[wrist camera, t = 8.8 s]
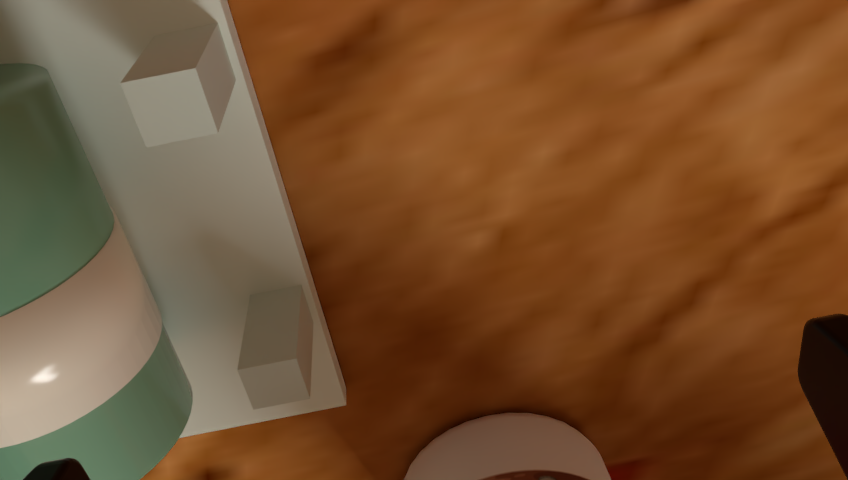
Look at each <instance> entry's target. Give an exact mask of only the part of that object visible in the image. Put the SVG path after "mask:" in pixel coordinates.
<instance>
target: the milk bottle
mask: <svg viewBox="0 0 848 480" xmlns="http://www.w3.org/2000/svg"><path fill="white" fill-rule="evenodd" d="M404 480H611V478H610V475H609V473H608V471H607V468H606V466H605V464H604V462H603V459H602V457H601V455H600V453H599V452H598V450H597V449H596V447H595V446H594V445H593V444H592V443H591V442H590V441H589V440H588V439H587V438H586V437H585V436H584V435H582V434H581V433H580V432H579V431H578V430H576V429H575V428H573V427H571V426H569V425H568V424H566V423H565V422H563V421H560V420H556V419H554V418H551V417H548V416H544V415H537V414H532V413H502V414H496V415H487V416H484V417H481V418H477V419H474V420H470V421H467V422H464V423H462V424H460V425H458V426H456V427H453V428H451V429H449V430H447V431H446V432H444V433H443V434H441V435H440V436H438V437H436V438H435V439H433V440H432V441H431V442H430V443H429V444H428V445H427V446H426V447H425V448H424V449H422V450H421V451H420V452H419V454H418V455H417V457H416V458H415V459H414V461H413V462H412V463H411V465H410V467H409V469H408V472H407V474H406V476H405V478H404Z"/></svg>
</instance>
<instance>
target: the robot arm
mask: <svg viewBox="0 0 848 480" xmlns="http://www.w3.org/2000/svg"><path fill="white" fill-rule="evenodd" d="M798 377H799V381H800V384H801V387H802V389H803V392H804V394H805V396H806V398H807V399H808V401H809V403H810V405H811V407H812V409H813V411H814V413H815V415H816V417H817V419H818V421H819V423H820V425H821V427H822V429H823V431H824V433H825V435H826V437H827V439H828V441H829V443H830V445H831V447H832V449H833V451H834V453H835V455H836V457H837V459H838V461H839V463H840V465H841V467H842V469H843V471H844V473H845V475H846V477H847V479H848V315H845V314H833V315H828V316H823V317H817V318H813V319H810V320H808V322H807V323H806V324H805V326H804V330H803V337H802V343H801V350H800V357H799V364H798ZM22 480H91V479H90V478H89V476H88V475H87V473H86V471H85V470H84V468H83V466H82V465H81V464H80V462H79V461H77V460H76V459H74V458H64V459H58V460H53V461H48V462H44V463H41V464H39V465H37V466H36V467H35V468H34V469H33V470H32V471H31V472H30V473H29V474H28V475H27V476H25V477H24V478H23V479H22Z"/></svg>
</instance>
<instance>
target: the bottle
mask: <svg viewBox="0 0 848 480" xmlns="http://www.w3.org/2000/svg"><path fill="white" fill-rule="evenodd" d="M192 404H193V392H192V388H191V384H190V382H189V380H188V378H187V375H186V373H185V371H184V369H183V367H182V364H181V362H180V360H179V358H178V356H177V353H176V351H175V349H174V347H173V345H172V342H171V340H170V338H169V336H168V334H167V331H166V329H165V327H164V325H163V323H162V318H161V313H160V311H159V309H158V307H157V304H156V302H155V300H154V298H153V296H152V293H151V291H150V289H149V287H148V285H147V282H146V280H145V278H144V276H143V273H142V271H141V269H140V267H139V265H138V262H137V260H136V258H135V256H134V254H133V251H132V249H131V247H130V245H129V243H128V240H127V238H126V236H125V234H124V231H123V229H122V227H121V225H120V223H119V220H118V218H117V216H116V214H115V212H114V210H113V208H112V207H111V206H110V205H109V204H108V202H107V199H106V197H105V195H104V193H103V191H102V188H101V186H100V184H99V182H98V180H97V177H96V175H95V173H94V171H93V169H92V166H91V164H90V162H89V160H88V158H87V155H86V153H85V151H84V149H83V147H82V144H81V142H80V140H79V138H78V136H77V133H76V131H75V129H74V127H73V125H72V122H71V120H70V118H69V116H68V114H67V111H66V109H65V107H64V105H63V103H62V100H61V98H60V96H59V94H58V92H57V89H56V87H55V85H54V83H53V81H52V78H51V76H50V74H49V72H48V70H47V69H45V68H44V67H42V66H39V65H35V64H27V63H7V64H0V480H22V479H23V478H24V477H25V476H27V475H28V474H29V473H30V472H31V471H32V470H33V469H34V468H35V467H36V466H37V465H39V464H41V463H44V462H48V461H53V460H58V459H64V458H74V459H76V460H77V461H79V462H80V464H81V465H82V466H83V468H84V470H85V471H86V473H87V475H88V476H89V478H90V479H91V480H139V479H141V478H142V477H143V476H144V475H146V474H147V473H148V472H149V471H150V470H151V469H153V468H154V467H155V466H156V465H157V464H158V463H159V462H160V461H161V460H162V459H163V458H164V457H165V456H166V454H167V453H168V452H169V451H170V449H171V448H172V447H173V446H174V445H175V443H176V442H177V440H178V439H179V437H180V435H181V434H182V432H183V430H184V428H185V426H186V424H187V422H188V419H189V416H190V414H191V409H192Z"/></svg>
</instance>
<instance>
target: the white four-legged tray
mask: <svg viewBox="0 0 848 480" xmlns="http://www.w3.org/2000/svg"><path fill="white" fill-rule="evenodd" d="M7 63H27V64H35V65H39V66H42V67H44V68H45V69H47V70H48V72H49V74H50V76H51V78H52V81H53V83H54V85H55V87H56V89H57V92H58V94H59V96H60V98H61V100H62V103H63V105H64V107H65V109H66V111H67V114H68V116H69V118H70V120H71V122H72V125H73V127H74V129H75V131H76V133H77V136H78V138H79V140H80V142H81V144H82V147H83V149H84V151H85V153H86V155H87V158H88V160H89V162H90V164H91V166H92V169H93V171H94V173H95V175H96V177H97V180H98V182H99V184H100V186H101V188H102V191H103V193H104V195H105V197H106V199H107V202H108V204H109V205H110V206H111V207H112V208H113V210H114V212H115V214H116V216H117V218H118V220H119V223H120V225H121V227H122V229H123V231H124V234H125V236H126V238H127V240H128V243H129V245H130V247H131V249H132V251H133V254H134V256H135V258H136V260H137V262H138V265H139V267H140V269H141V271H142V273H143V276H144V278H145V280H146V282H147V285H148V287H149V289H150V291H151V293H152V296H153V298H154V300H155V302H156V304H157V307H158V309H159V311H160V313H161V318H162V323H163V325H164V327H165V329H166V331H167V334H168V336H169V338H170V340H171V342H172V345H173V347H174V349H175V351H176V353H177V356H178V358H179V360H180V362H181V364H182V367H183V369H184V371H185V373H186V375H187V378H188V380H189V382H190V384H191V388H192V392H193V404H192V409H191V414H190V416H189V419H188V422H187V424H186V426H185V428H184V430H183V432H182V434H181V435H180V437H179V438H182V437H187V436H192V435H197V434H202V433H207V432H212V431H218V430H223V429H228V428H233V427H238V426H243V425H248V424H253V423H258V422H263V421H269V420H274V419H279V418H284V417H289V416H294V415H299V414H304V413H309V412H315V411H320V410H325V409H330V408H335V407H340V406H345V405H346V386H345V383H344V379H343V376H342V373H341V370H340V366H339V363H338V360H337V357H336V353H335V350H334V347H333V344H332V340H331V337H330V334H329V330H328V327H327V324H326V321H325V317H324V314H323V311H322V308H321V304H320V301H319V298H318V295H317V291H316V288H315V285H314V282H313V278H312V275H311V272H310V269H309V265H308V262H307V259H306V256H305V252H304V249H303V246H302V243H301V239H300V236H299V233H298V230H297V226H296V223H295V220H294V217H293V213H292V210H291V207H290V204H289V200H288V197H287V194H286V191H285V187H284V184H283V181H282V178H281V174H280V171H279V168H278V164H277V161H276V158H275V155H274V151H273V148H272V145H271V142H270V138H269V135H268V132H267V129H266V125H265V122H264V119H263V116H262V112H261V109H260V106H259V103H258V99H257V96H256V93H255V90H254V86H253V83H252V80H251V77H250V73H249V70H248V67H247V64H246V60H245V57H244V54H243V51H242V47H241V44H240V41H239V38H238V34H237V31H236V28H235V25H234V21H233V18H232V15H231V12H230V8H229V5H228V2H227V0H0V64H7Z"/></svg>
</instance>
